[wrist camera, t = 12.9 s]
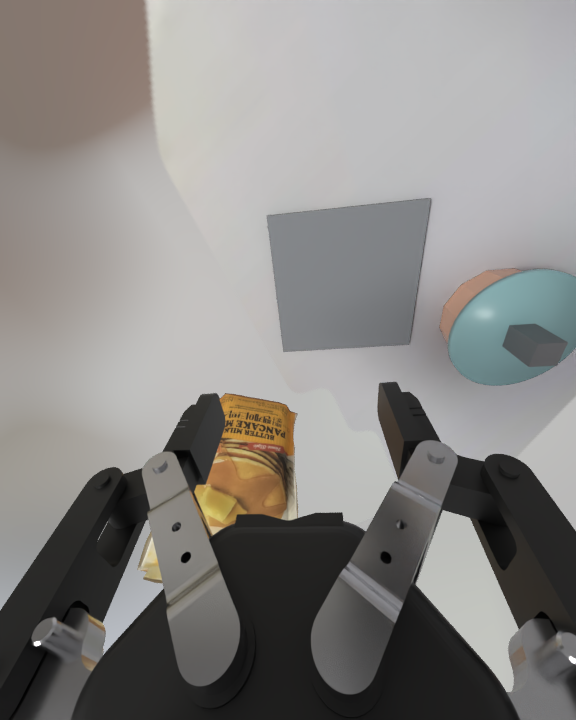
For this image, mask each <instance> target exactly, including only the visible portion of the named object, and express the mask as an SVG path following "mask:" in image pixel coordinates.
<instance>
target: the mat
mask: <svg viewBox="0 0 576 720" xmlns="http://www.w3.org/2000/svg"><path fill="white" fill-rule="evenodd" d="M430 201H431V198H426V199H416V200H407V201H398V202H388V203H379V204H370V205H361V206H351V207H342V208H333V209H323V210H314V211H305V212H295V213H286V214H277V215H268V216H267V222H268V230H269V238H270V246H271V254H272V263H273V271H274V279H275V287H276V295H277V303H278V312H279V320H280V328H281V336H282V344H283V352H291V351H308V350H325V349H342V348H359V347H376V346H393V345H409V341H410V335H411V328H412V321H413V315H414V308H415V301H416V295H417V288H418V281H419V274H420V268H421V261H422V254H423V248H424V241H425V234H426V228H427V221H428V214H429V208H430Z"/></svg>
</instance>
